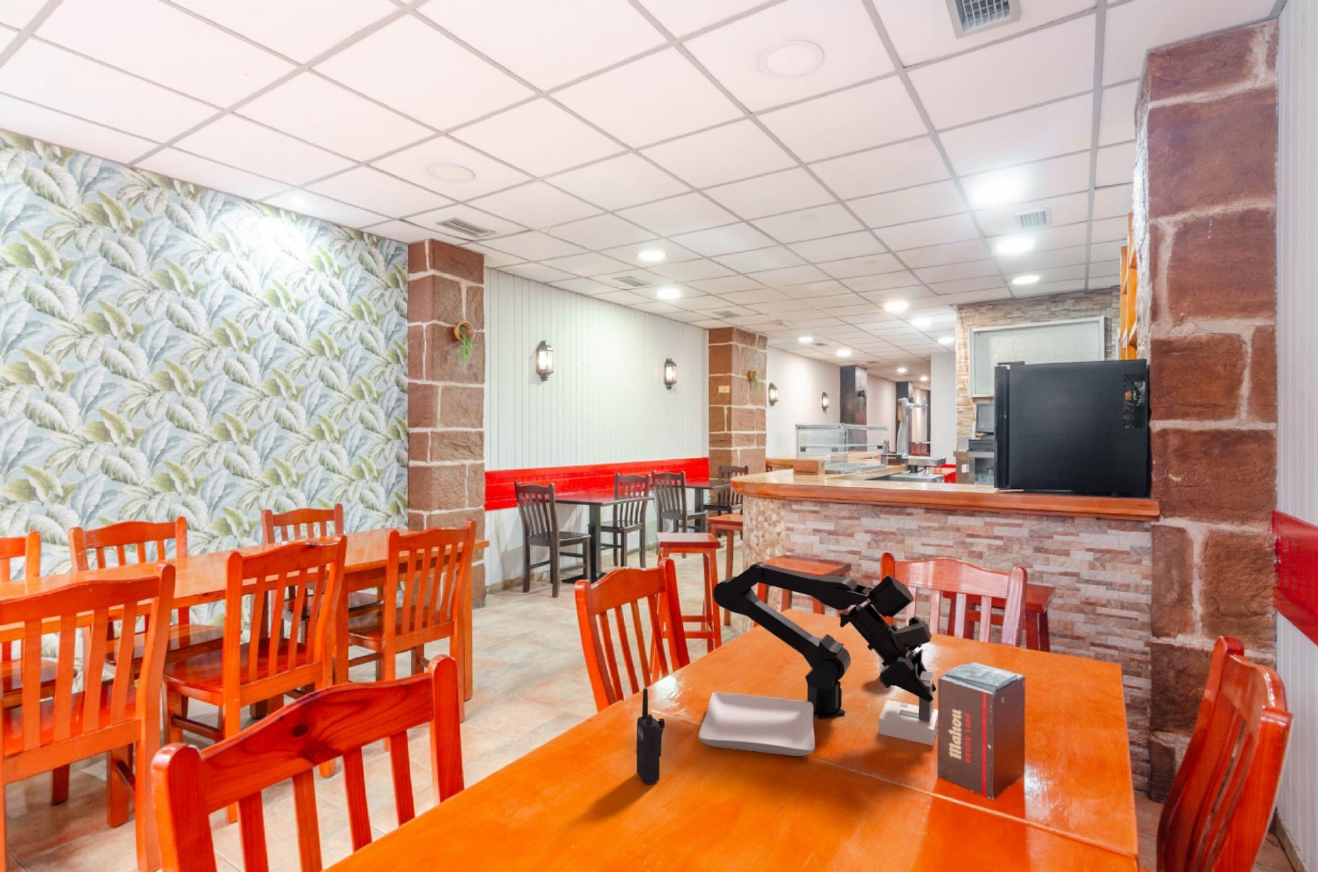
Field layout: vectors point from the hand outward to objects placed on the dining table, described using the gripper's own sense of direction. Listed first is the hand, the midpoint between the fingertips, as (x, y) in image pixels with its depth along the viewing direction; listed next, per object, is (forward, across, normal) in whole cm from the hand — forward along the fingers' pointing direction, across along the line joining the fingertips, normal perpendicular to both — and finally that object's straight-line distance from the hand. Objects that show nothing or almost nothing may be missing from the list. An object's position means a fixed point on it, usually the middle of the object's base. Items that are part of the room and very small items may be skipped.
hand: (933, 695), depth 131 cm
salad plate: (-16, -16, +27) cm, 35 cm away
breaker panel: (+2, 0, +8) cm, 9 cm away
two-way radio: (-23, -41, +34) cm, 58 cm away
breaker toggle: (+2, 0, +4) cm, 4 cm away
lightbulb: (-4, +27, +15) cm, 31 cm away
